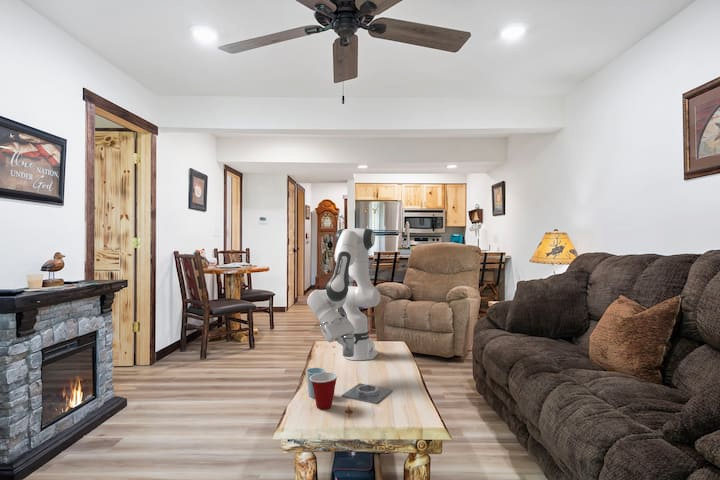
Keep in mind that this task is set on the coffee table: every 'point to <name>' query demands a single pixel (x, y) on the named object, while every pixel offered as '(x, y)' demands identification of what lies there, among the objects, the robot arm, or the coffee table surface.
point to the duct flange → (367, 393)
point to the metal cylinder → (349, 349)
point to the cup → (310, 386)
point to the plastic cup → (324, 389)
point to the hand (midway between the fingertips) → (349, 344)
